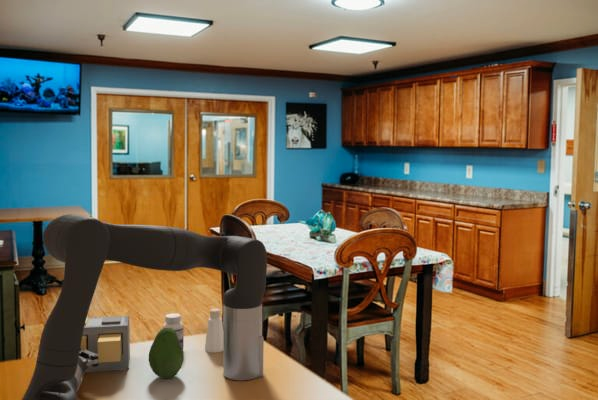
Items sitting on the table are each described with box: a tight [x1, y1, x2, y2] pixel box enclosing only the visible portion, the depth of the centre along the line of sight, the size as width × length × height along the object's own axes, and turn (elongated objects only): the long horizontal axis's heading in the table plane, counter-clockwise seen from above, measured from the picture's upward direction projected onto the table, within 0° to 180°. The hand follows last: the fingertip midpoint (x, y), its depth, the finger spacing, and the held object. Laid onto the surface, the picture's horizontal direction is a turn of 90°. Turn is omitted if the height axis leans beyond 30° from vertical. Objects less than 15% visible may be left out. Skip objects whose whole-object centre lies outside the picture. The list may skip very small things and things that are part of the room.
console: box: [83, 315, 131, 373], centre depth 145 cm, size 16×8×12 cm, turn 103°
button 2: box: [98, 333, 122, 363], centre depth 141 cm, size 5×8×5 cm, turn 13°
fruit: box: [148, 327, 184, 380], centre depth 139 cm, size 8×8×12 cm
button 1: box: [81, 335, 88, 350], centre depth 143 cm, size 5×8×5 cm, turn 13°
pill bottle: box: [162, 312, 185, 350], centre depth 157 cm, size 5×5×10 cm
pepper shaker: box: [204, 307, 223, 354], centre depth 158 cm, size 5×5×11 cm
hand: (74, 348), depth 139 cm, fingers closed
